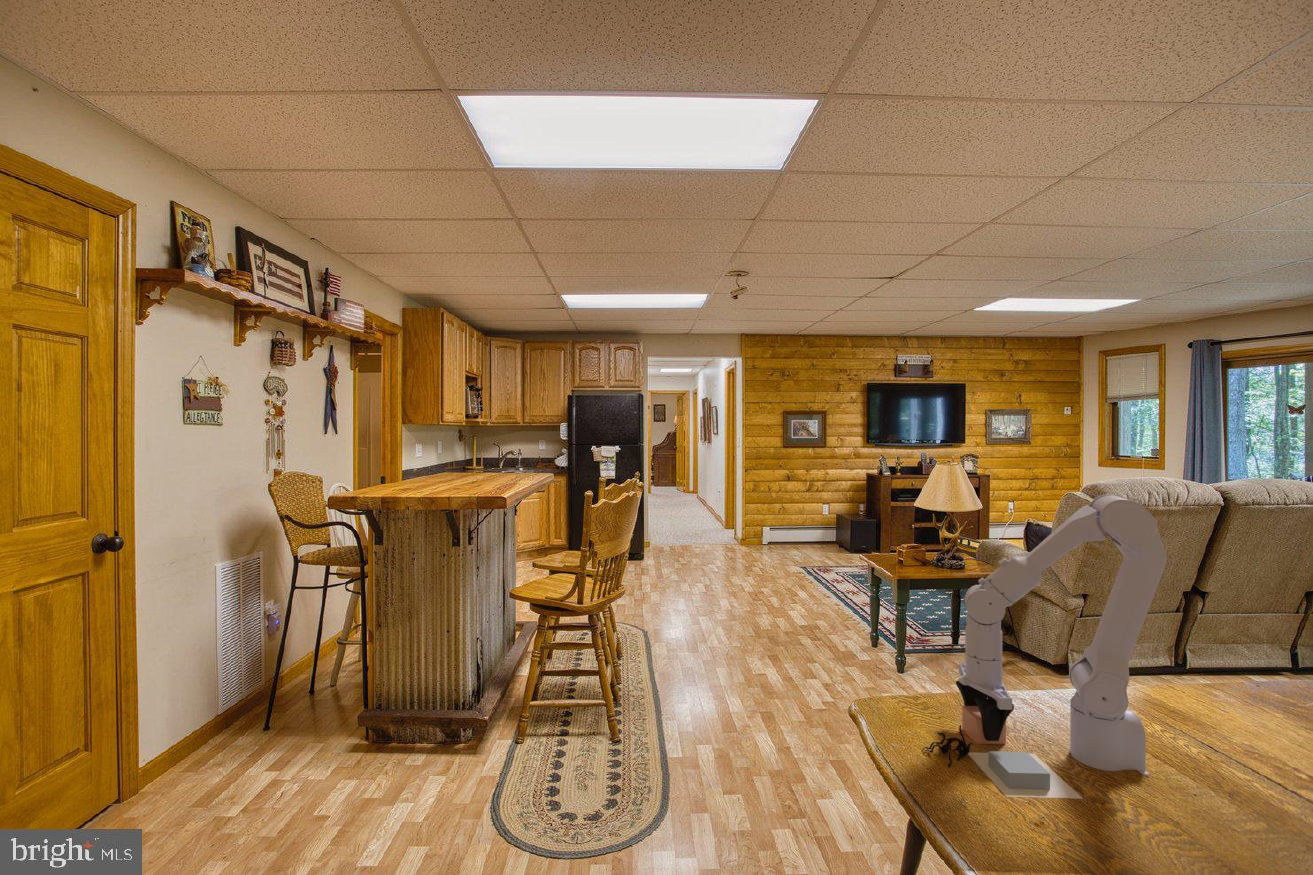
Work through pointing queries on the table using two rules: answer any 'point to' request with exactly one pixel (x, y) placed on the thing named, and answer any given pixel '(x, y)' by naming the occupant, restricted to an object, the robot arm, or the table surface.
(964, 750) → the creature
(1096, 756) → the robot arm
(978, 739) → the top brick
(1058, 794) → the board
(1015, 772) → the base brick
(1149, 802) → the table surface
